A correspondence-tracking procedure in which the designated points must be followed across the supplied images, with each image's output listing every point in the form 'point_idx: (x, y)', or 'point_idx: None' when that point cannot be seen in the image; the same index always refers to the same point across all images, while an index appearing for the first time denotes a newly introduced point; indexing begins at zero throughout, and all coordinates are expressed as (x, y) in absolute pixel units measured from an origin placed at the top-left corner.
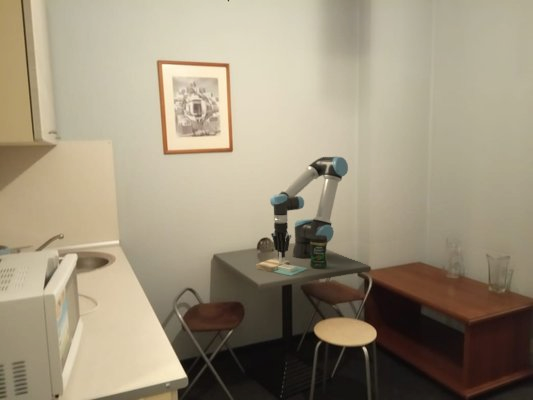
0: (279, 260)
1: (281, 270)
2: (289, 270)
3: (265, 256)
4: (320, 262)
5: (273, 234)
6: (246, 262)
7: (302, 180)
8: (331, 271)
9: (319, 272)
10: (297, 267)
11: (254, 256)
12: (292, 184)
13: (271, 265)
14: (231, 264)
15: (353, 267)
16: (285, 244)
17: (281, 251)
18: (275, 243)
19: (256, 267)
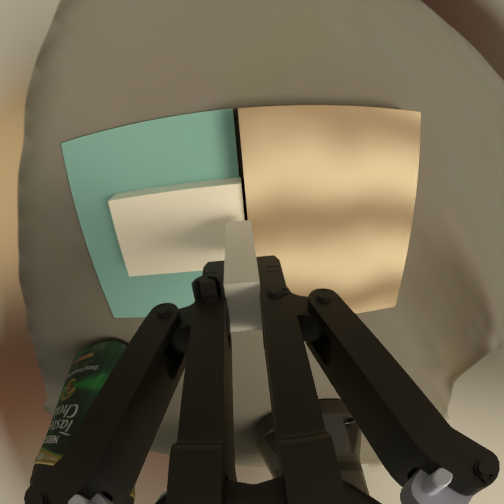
0: (247, 231)
1: (194, 175)
2: (120, 195)
3: (458, 325)
4: (72, 370)
5: (453, 486)
6: (500, 190)
7: None
8: (36, 339)
9: (41, 303)
10: (168, 298)
11: (497, 292)
12: None
13: (292, 155)
14: None
15: (54, 401)
16: (120, 386)
17: (210, 292)
18: (353, 361)
19: (402, 109)
